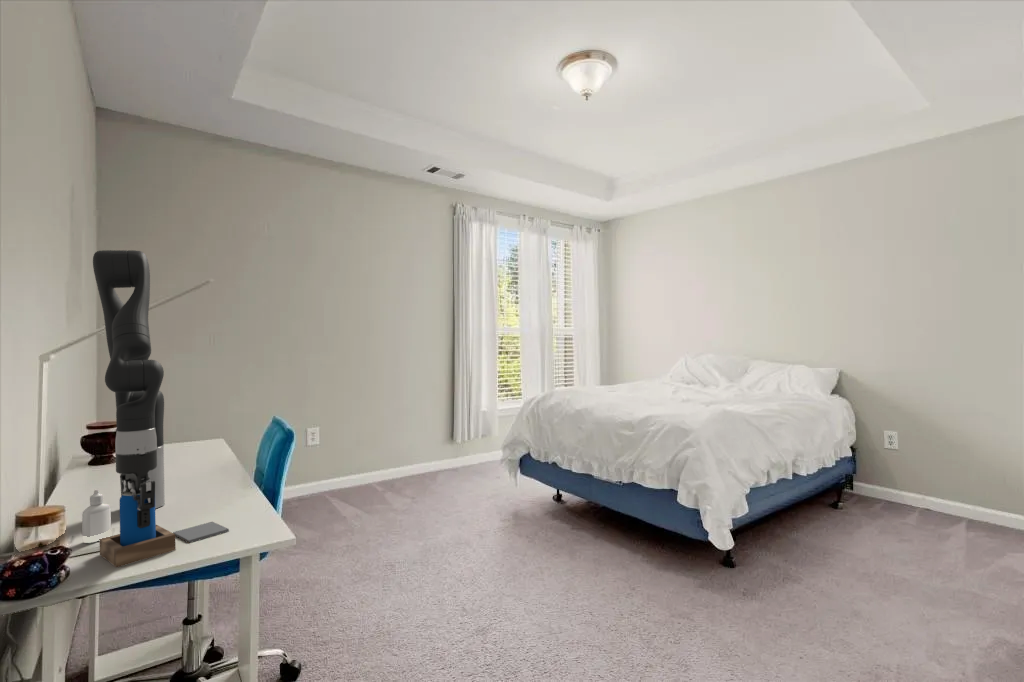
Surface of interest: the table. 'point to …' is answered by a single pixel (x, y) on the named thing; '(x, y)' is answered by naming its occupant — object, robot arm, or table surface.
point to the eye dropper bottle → (96, 516)
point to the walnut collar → (136, 548)
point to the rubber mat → (200, 531)
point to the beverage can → (134, 522)
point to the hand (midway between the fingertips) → (138, 523)
